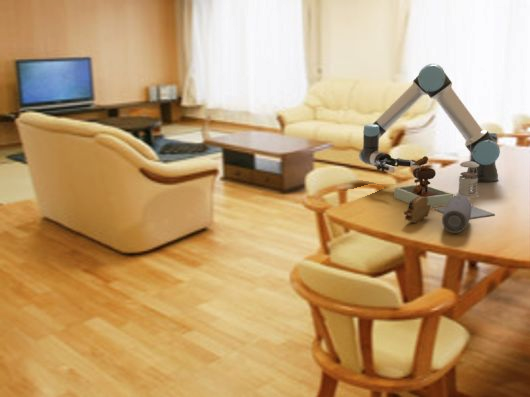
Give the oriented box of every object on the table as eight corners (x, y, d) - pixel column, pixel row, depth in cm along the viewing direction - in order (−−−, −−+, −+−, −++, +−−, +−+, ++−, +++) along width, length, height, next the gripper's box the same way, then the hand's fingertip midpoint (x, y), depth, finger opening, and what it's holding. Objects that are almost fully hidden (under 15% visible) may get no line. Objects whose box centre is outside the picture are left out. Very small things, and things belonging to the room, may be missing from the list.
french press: (452, 195, 258) (455, 139, 252) (463, 190, 266) (466, 136, 260) (473, 199, 251) (477, 141, 245) (484, 193, 260) (488, 138, 253)
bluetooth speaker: (446, 217, 226) (447, 192, 224) (471, 219, 223) (473, 194, 220) (439, 235, 206) (441, 207, 203) (467, 237, 202) (469, 210, 200)
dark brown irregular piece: (429, 206, 241) (427, 159, 237) (404, 205, 248) (402, 159, 244) (442, 198, 253) (440, 153, 249) (417, 197, 260) (416, 153, 256)
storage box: (423, 193, 262) (424, 183, 261) (452, 204, 244) (453, 194, 243) (394, 197, 257) (394, 187, 256) (421, 208, 239) (422, 198, 238)
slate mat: (467, 205, 242) (467, 204, 242) (494, 215, 227) (494, 213, 227) (435, 209, 237) (435, 208, 236) (461, 220, 222) (461, 219, 222)
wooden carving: (420, 215, 230) (421, 191, 227) (431, 217, 227) (432, 192, 224) (401, 225, 217) (401, 200, 215) (412, 228, 215) (413, 202, 212)
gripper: (403, 165, 283) (429, 174, 264) (358, 170, 275) (382, 179, 256) (403, 150, 282) (430, 157, 262) (358, 154, 273) (382, 162, 254)
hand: (406, 168), depth 259 cm, fingers open, 13 cm apart
